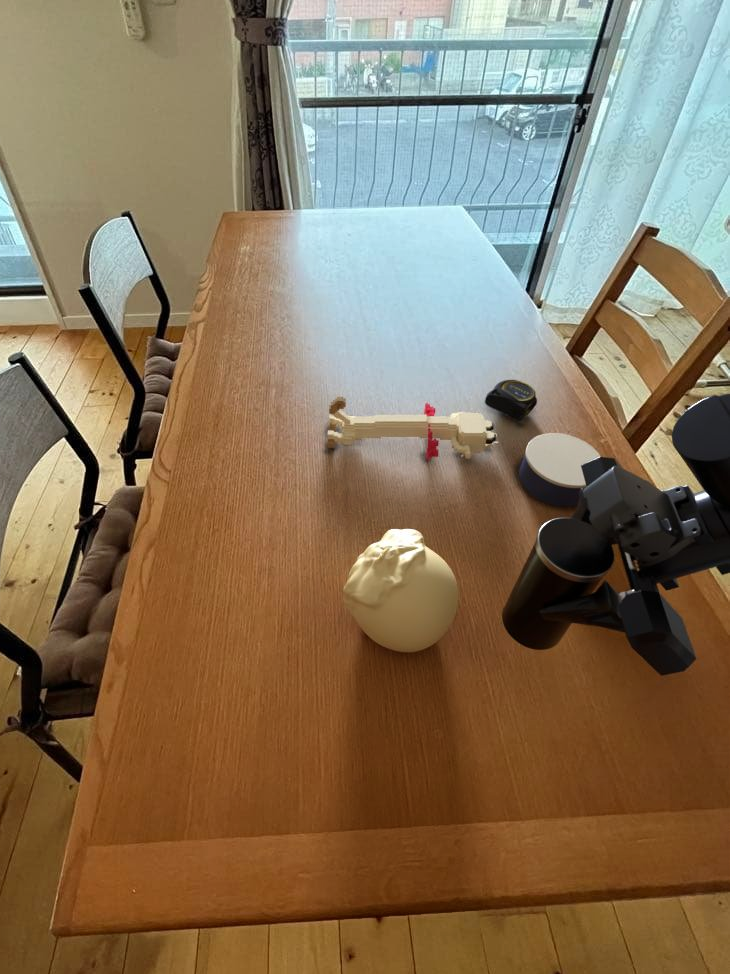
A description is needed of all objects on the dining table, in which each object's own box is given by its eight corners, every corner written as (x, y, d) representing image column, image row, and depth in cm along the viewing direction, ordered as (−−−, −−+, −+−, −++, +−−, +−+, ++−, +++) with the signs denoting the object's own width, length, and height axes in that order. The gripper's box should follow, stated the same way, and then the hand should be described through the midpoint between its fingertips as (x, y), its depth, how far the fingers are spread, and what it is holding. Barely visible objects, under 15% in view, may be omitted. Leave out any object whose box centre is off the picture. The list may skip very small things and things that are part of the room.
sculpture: (378, 557, 69) (386, 501, 62) (465, 606, 65) (486, 552, 57) (325, 625, 63) (327, 571, 55) (419, 685, 58) (435, 636, 50)
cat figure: (327, 466, 82) (500, 467, 80) (323, 421, 76) (511, 421, 73) (332, 422, 89) (491, 422, 86) (328, 378, 83) (500, 376, 80)
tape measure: (480, 408, 90) (485, 390, 87) (503, 390, 94) (509, 372, 91) (517, 428, 87) (523, 410, 84) (539, 409, 90) (546, 391, 88)
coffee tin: (598, 470, 81) (610, 448, 77) (584, 518, 74) (596, 496, 71) (527, 446, 84) (536, 424, 81) (509, 490, 78) (517, 467, 74)
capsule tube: (574, 621, 56) (627, 544, 47) (545, 663, 53) (595, 590, 43) (520, 585, 59) (559, 505, 50) (489, 623, 56) (524, 546, 46)
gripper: (648, 382, 45) (481, 464, 54) (735, 574, 32) (497, 640, 41) (700, 460, 50) (540, 523, 59) (793, 653, 37) (571, 697, 46)
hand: (537, 584), depth 51 cm, fingers closed on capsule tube, 6 cm apart
